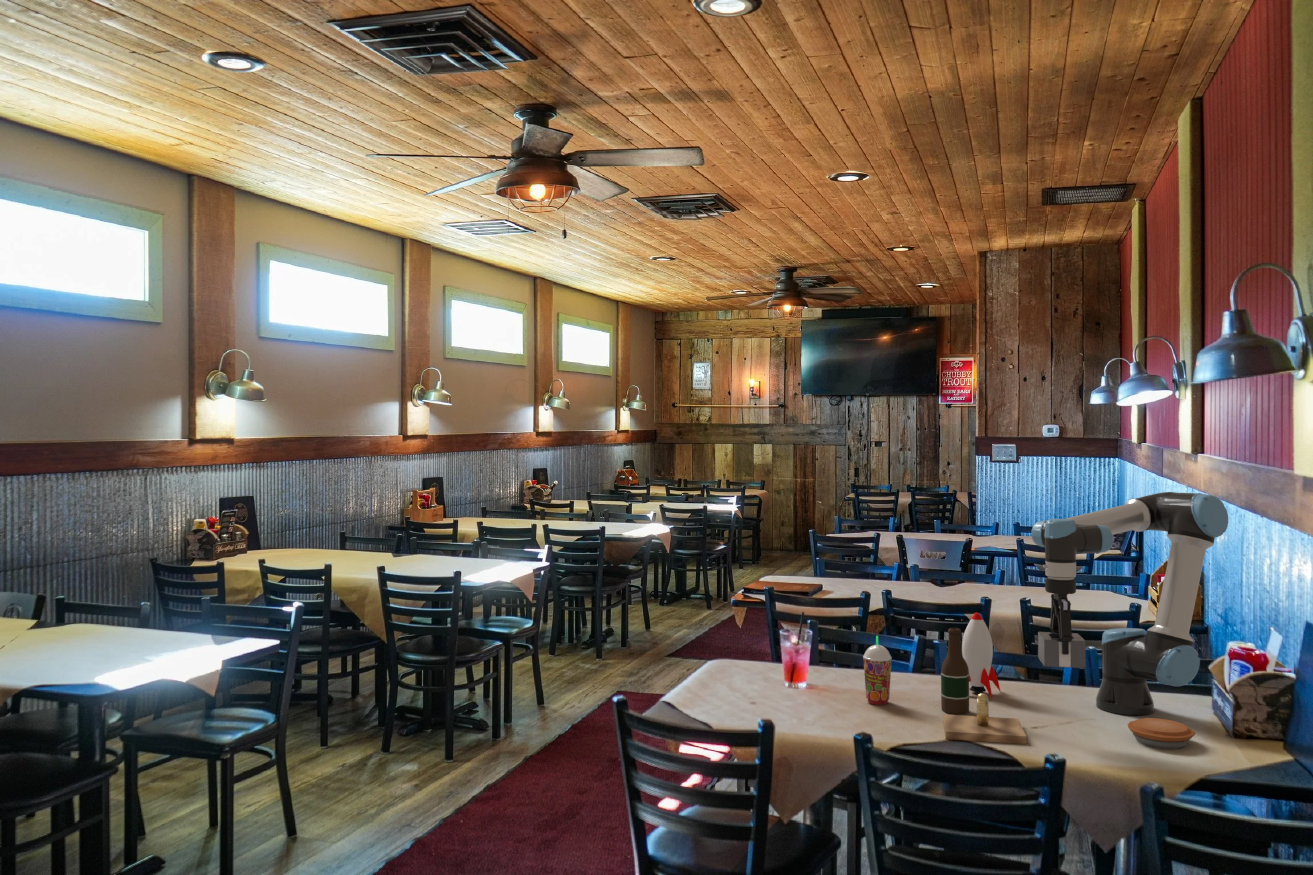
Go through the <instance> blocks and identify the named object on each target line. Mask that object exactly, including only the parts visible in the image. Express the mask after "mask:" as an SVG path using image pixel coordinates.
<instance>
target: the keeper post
mask: <svg viewBox="0 0 1313 875" xmlns="http://www.w3.org/2000/svg"><path fill="white" fill-rule="evenodd" d="M989 707H990V706H989V696H988V695H987V693H984V692H979V694H977V696H976V716H977V725H978V726H983V727H986V726H989V717H990V715H989Z"/></svg>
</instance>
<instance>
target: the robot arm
mask: <svg viewBox="0 0 1313 875" xmlns="http://www.w3.org/2000/svg"><path fill="white" fill-rule="evenodd" d="M1228 527H1229V514H1228V510H1227V508H1226V506H1225V504H1224V502H1223V501H1222V500H1221V499H1220V498H1219V497H1217V496H1216V495H1213V494H1206V493H1201V492H1198V493H1195V492H1175V491H1163V492H1158V493H1157V492H1156V493H1153V494H1147V495H1144V496H1141V497H1136V498H1133V499H1130V500H1127V501H1126V502H1125V503H1124V504H1123V505H1117V506H1113V507H1109V508H1105V509H1100V510H1096V511H1092V512H1088V513H1083V514H1080V515H1075V516H1071V517H1067V518H1050V519H1046V520H1039V521H1037V522H1035V523H1034V524H1033V526H1032V529H1031V533H1030V534H1031V539H1032V542H1033V543H1034V544H1035V545H1037V546H1039V547H1041V548H1044V552H1045V554H1044V557H1045V559H1044V561H1045V564H1043V565H1042V568H1043V569H1045V570H1044V572H1045V573H1044V574H1045V576H1047V577H1045V579H1044V587H1045V588H1044V590H1045V592H1046V593H1049V594H1051V595H1050V600H1051V603H1050V605H1051V607H1050V623H1049V624H1050V625H1049V627H1050V632H1056V633H1059V636H1060V639H1059V638H1057V642H1059V667H1058V668H1072V667H1071V651H1070V642H1071V641H1072V633H1073V632H1072V616H1071V615H1072V614H1071V606H1072V603H1071V601H1070V600H1068V595H1074V594H1076V592H1077V579H1076V577H1077V555H1081V554H1083V555H1084V554H1085V555H1086V554H1087V555H1088V554H1101V553H1106V552H1108V551H1109V550H1111V548H1112V546H1113V544H1114V535H1117V534H1122V533H1125V532H1130V531H1134V532H1138V533H1139V532H1145V531H1159V532H1166V533H1167V534H1166V537H1167V538H1168V539H1169V541H1170V542H1171V544H1170V549H1169V554H1168V559H1167V564H1166V570H1165V573H1164V579H1163V584H1162V588H1161V592H1160V596H1159V597H1160V598H1159V603H1158V608H1157V613H1156V616H1155V621H1154V625H1153V626H1151V627H1149V628H1148V629H1147V630H1145V629H1144V628H1135V627H1133V628H1132V627H1130V628H1128V627H1127V628H1125V627H1123V628H1122V627H1121V628H1110V629H1106V630H1104V632H1102V637H1101V638H1102V639H1101V660H1102V661H1101V663H1102V665H1101V666H1102V667H1101V668H1102V678H1101V679H1102V681H1101V684H1100V685H1099V689H1098V692H1097V694H1096V698H1095V699H1096V700H1095V705H1096V707H1097V708H1098V709H1100V710H1101V711H1105V712H1108V713H1109V712H1110V713H1112V714H1117V715H1125V716H1127V715H1128V716H1145V715H1150V714H1151V715H1152V714H1153V713H1154V712H1155V705H1154V704H1155V703H1154V700H1153V697H1152V694H1151V691H1150V689H1149V686H1148V680H1149V681H1152V682H1156V683H1160V684H1162V685H1166V686H1173V687H1182V686H1186V685H1188V683H1190V682H1192V681H1193V680H1194V678H1195V677H1196V676H1197V674H1198V672H1199V669H1200V665H1201V664H1200V663H1201V660H1200V659H1201V658H1200V657H1199V653H1198V651H1197V650H1196V649H1195V648H1194V642H1195V641H1194V639H1193V638H1192V636H1190V629H1191V624H1192V621H1193V616H1194V611H1195V605H1196V600H1197V597H1198V596H1197V595H1198V590H1199V586H1200V581H1201V576H1202V572H1203V567H1204V566H1203V565H1204V561H1205V557H1206V551H1207V549H1209V548H1211V547H1213V546H1214V544H1215V538H1218V537H1221V536H1222V535H1224V533H1226V531H1227V529H1228ZM1064 635H1066V636H1064Z"/></svg>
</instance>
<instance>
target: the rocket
mask: <svg viewBox="0 0 1313 875" xmlns="http://www.w3.org/2000/svg"><path fill="white" fill-rule="evenodd" d="M961 651H962V656H963V658H964V660H965V661H966V663H967V665H968V669H969V686H971V687H969V691H971V692H975V693H977V692H978V693H984V692H986V690H987V692H988V695H989V697H990V699H991V700H993V693H992V688H991V682H992V683H993V684H994V686H995V687H996V688H997V690H998V691H999V692H1001V688H1000V683H999V679H998V675H997V673H996V671H995V668H994V667H993V666H992V662H993V655H994V654H993V653H994V645H993V640H992V636H991V633H990V630H989V628H988V626H987V624H986V622H985V620H984V618H983V617H982V615H981V614H980V613H979V612H975V613H974V614H973V615H972V617H971V618H970V620H969V622H968V624H967V626H966V628H965V630H964V634H963V636H962V641H961ZM990 681H991V682H990Z"/></svg>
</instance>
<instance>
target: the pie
mask: <svg viewBox="0 0 1313 875" xmlns="http://www.w3.org/2000/svg"><path fill="white" fill-rule="evenodd" d="M1127 727H1128V729H1129V730H1130V732H1131V733H1132V735H1133V737H1134V738H1135V740H1136V741H1137V742H1138V743H1140V744H1142V745H1143V746H1144V745H1145V746H1148V747H1151V748H1156V749H1163V750H1164V749H1165V750H1178V749H1182V748H1184V747H1186V746H1187V744H1188V743H1189V741H1191V739H1192V738H1193V737H1194V736H1195V735H1196V731H1195V730H1194V729H1192V728H1189V727H1188V726H1187V725H1186V724H1183V723H1182V722H1178V721H1174V720H1170V719H1167V718H1166V719H1164V718H1155V717H1144V718H1137V719H1135V720H1133V721H1129V722H1128V723H1127Z"/></svg>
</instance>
